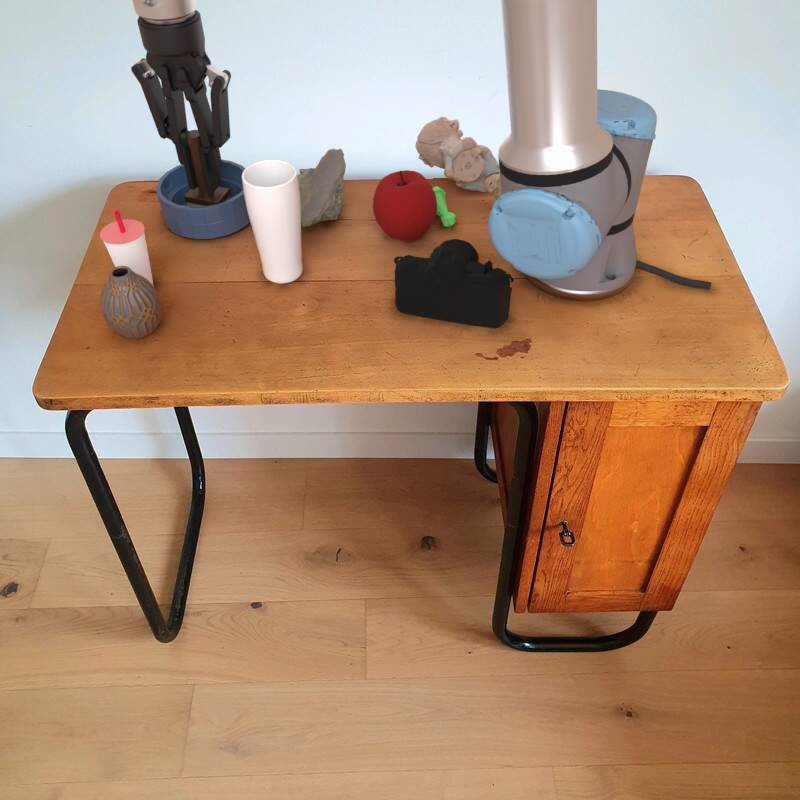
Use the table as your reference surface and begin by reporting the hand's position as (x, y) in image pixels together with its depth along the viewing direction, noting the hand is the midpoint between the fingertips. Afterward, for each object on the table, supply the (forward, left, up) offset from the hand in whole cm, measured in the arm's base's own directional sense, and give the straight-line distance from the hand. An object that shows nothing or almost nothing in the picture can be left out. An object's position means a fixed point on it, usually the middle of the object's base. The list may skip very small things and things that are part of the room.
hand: (205, 185), depth 110 cm
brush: (0, 0, -4) cm, 4 cm away
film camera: (-39, +8, -5) cm, 40 cm away
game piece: (-30, -11, -3) cm, 32 cm away
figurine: (-27, -24, 0) cm, 36 cm away
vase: (-3, +25, -5) cm, 26 cm away
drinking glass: (-16, +10, -5) cm, 19 cm away
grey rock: (-14, -5, -5) cm, 16 cm away
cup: (+1, +18, -5) cm, 19 cm away
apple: (-28, -4, -5) cm, 29 cm away
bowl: (0, 0, -5) cm, 5 cm away
